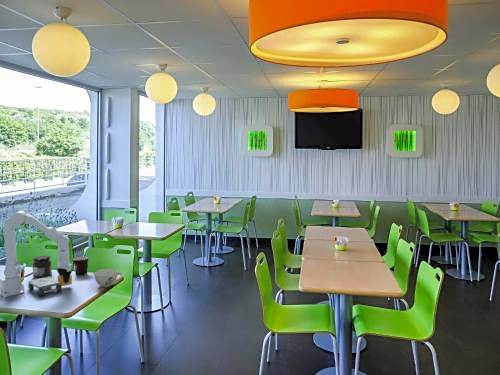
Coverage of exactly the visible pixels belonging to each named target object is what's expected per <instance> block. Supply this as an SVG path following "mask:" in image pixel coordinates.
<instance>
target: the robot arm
mask: <svg viewBox="0 0 500 375" xmlns="http://www.w3.org/2000/svg"><path fill="white" fill-rule="evenodd" d="M22 224H24V225H31V226H33V227H35V228H36V229H38V230H39V231H41V232H43V233H44V234H43V235H44V237H46V238H47V239H48V240H50V241H51V242H54V243H56V245H57V260H58V261H57V268H56V271H57V273H58V276H60V275H63V280H64V283H68V282H69V278H70V275H72V272H73V270H72V267H71V266H73V264H72V263H71V262H70V245H69V243H70V238H69V236H67V234H64V233H62V232H60V231H59V230H57V228H56V227H55V226H54V227H52V226H50V227H48V226H47V225H45V224H44V223H43V222H41V221H40V220H39V219H37V218H36V217H34V216H33V215H32V214H31V213H27V212H26V211H24V210H18V211H16V212H14V213H13V214H11V215H10V216H9V218H8V219H7V220H6V223H5V224H4V226H3V234H4V236H3V237H4V247H5V266H4V270H3V275H4V277H3V278H1V279H0V295H1V296H3V297H4V298H5V297H11V296H15V295H19V294H24V291H23V290H22V286H21V285H22V284H21V274H20V273H19V272H20V271H21V266H20V264H19V259H18V257H17V256H18V255H17V245H16V244H17V243H16V232H15V231H16V230H15V229H16V228H17V227H18V226H19V225H22Z"/></svg>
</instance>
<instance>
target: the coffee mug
mask: <svg viewBox="0 0 500 375" xmlns="http://www.w3.org/2000/svg"><path fill="white" fill-rule="evenodd" d="M72 261H73V265H74V267H73V268H74V270H75V271H74V272H75V276H76V275H77V277H82V276H87V275H88V268H89V267H88V266H89V265H88V264H89V257H88V256H78V257H77V256H76V257H75V258H73V260H72Z"/></svg>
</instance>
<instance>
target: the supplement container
mask: <svg viewBox="0 0 500 375" xmlns="http://www.w3.org/2000/svg"><path fill="white" fill-rule="evenodd" d="M32 261H33V262H32V264H31V266H32V278H34V279H40V278H45V277H51V276H52V275H53V272H52V271H53V270H52V268H53V267H52V264H53V263H52V260H51V256H50V255H38V256H34V257H33V258H32Z"/></svg>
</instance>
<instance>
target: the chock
mask: <svg viewBox="0 0 500 375" xmlns="http://www.w3.org/2000/svg"><path fill="white" fill-rule="evenodd" d="M72 277H73V276H72V274H70V278H69V282H68V283H64V280H63V275H60V276H59V275H57V281H59V282H61V287H64V286H70V285H73V280H72V279H73V278H72Z"/></svg>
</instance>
